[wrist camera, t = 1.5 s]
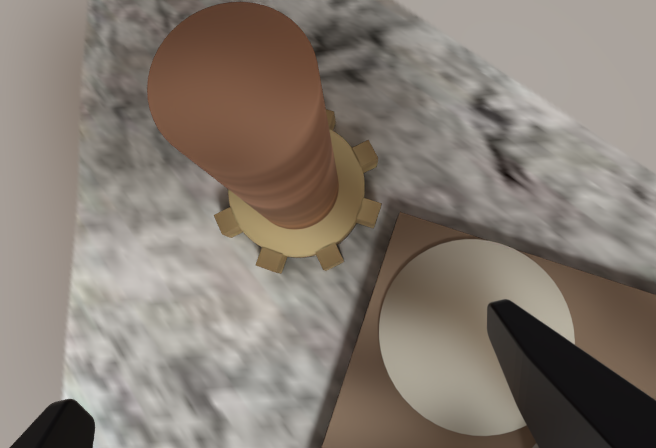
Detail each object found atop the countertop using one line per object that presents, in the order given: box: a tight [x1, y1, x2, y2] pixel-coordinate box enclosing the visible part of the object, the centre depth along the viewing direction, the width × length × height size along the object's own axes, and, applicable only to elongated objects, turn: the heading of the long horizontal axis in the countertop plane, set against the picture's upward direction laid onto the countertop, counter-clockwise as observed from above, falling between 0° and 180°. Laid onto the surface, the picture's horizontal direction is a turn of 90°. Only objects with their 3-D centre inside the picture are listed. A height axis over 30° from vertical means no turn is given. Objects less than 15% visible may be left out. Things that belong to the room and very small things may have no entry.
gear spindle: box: [147, 2, 382, 273], centre depth 17 cm, size 9×9×12 cm
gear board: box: [321, 212, 656, 448], centre depth 19 cm, size 15×17×4 cm
